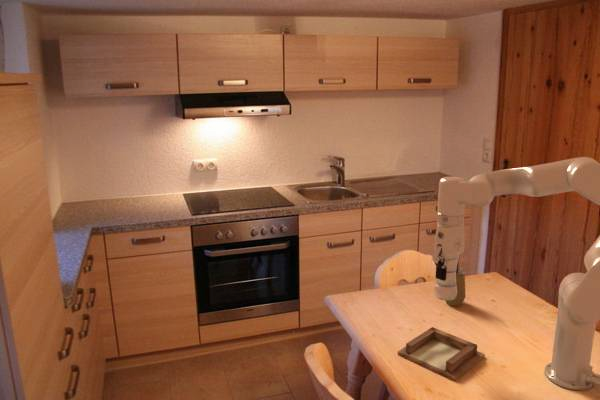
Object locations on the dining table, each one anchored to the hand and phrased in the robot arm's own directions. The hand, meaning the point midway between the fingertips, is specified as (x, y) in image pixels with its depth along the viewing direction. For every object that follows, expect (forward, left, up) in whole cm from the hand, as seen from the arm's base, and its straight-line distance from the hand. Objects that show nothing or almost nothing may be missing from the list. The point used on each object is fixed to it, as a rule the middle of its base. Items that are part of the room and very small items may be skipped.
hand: (446, 275), depth 149 cm
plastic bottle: (0, 0, -8) cm, 8 cm away
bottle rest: (0, +1, -27) cm, 27 cm away
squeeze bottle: (+16, -35, -27) cm, 47 cm away
